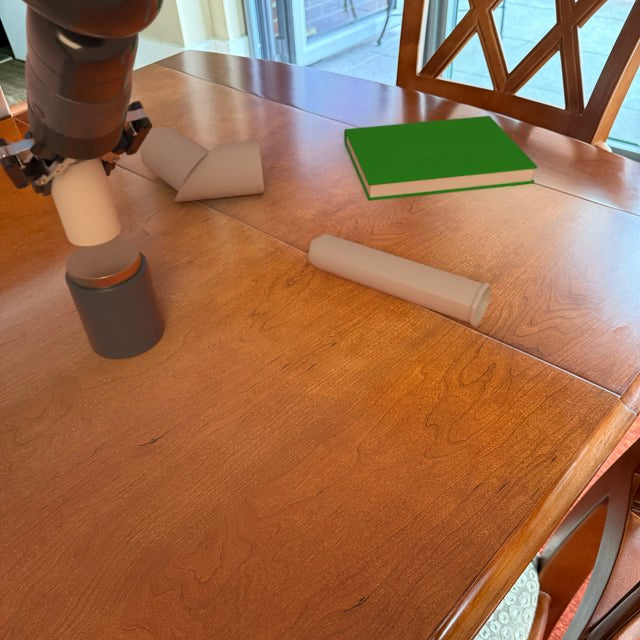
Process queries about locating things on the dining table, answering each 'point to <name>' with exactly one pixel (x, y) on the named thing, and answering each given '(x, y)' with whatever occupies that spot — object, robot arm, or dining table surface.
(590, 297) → the dining table surface
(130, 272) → the slate jar
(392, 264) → the tube
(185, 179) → the l-shaped cylinder
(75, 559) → the dining table surface
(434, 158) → the book
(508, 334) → the dining table surface
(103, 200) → the cream bottle
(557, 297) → the dining table surface
